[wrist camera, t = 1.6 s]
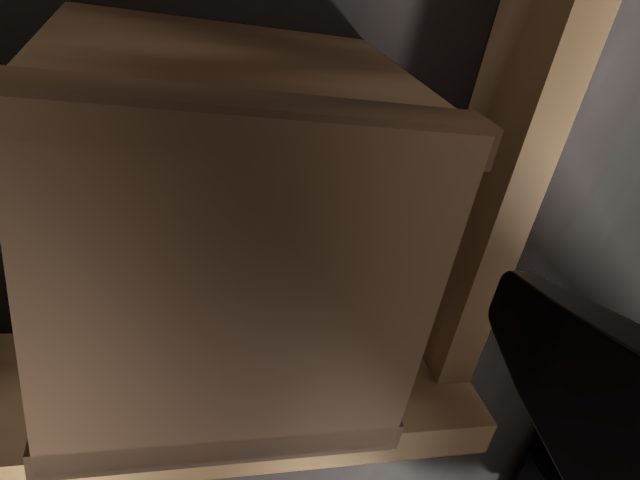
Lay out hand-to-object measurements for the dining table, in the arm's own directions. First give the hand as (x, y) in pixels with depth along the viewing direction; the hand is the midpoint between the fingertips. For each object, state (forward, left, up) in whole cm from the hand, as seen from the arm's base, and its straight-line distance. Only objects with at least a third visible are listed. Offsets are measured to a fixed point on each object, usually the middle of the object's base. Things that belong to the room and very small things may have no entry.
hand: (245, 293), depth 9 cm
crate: (0, 0, -5) cm, 5 cm away
